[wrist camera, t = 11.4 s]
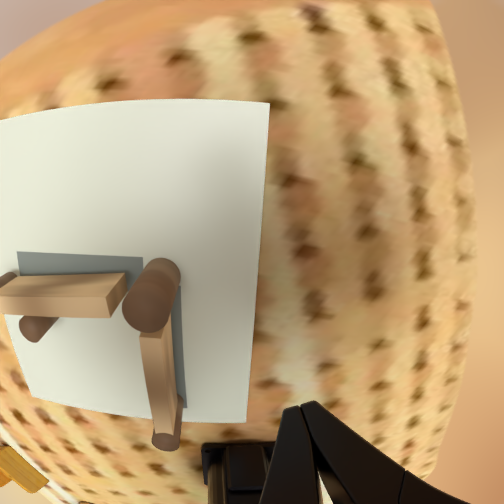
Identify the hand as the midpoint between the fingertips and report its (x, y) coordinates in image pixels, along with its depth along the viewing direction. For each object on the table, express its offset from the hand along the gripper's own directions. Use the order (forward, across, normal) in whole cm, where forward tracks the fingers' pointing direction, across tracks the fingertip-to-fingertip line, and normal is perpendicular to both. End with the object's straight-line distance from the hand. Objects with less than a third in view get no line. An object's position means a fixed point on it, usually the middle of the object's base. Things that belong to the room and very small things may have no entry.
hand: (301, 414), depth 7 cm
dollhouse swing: (+11, +36, +16) cm, 40 cm away
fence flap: (+9, +11, -3) cm, 14 cm away
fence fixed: (+10, +10, +1) cm, 14 cm away
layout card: (+10, +8, -2) cm, 13 cm away
